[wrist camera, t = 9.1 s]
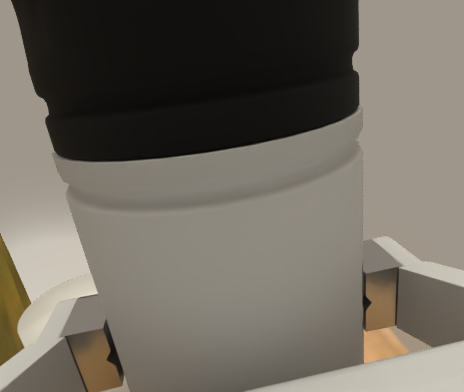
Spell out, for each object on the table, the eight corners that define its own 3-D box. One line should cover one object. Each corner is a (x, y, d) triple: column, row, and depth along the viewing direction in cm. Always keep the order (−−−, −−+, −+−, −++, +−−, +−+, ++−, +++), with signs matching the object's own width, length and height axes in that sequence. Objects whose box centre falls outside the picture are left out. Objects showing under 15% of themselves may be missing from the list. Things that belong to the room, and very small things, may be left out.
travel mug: (161, 551, 14) (-46, -15, 7) (278, 438, 17) (220, -13, 10) (265, 793, 9) (-82, -309, 2) (400, 569, 12) (441, -119, 5)
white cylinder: (58, 450, 19) (-3, 319, 16) (133, 379, 23) (97, 262, 19) (114, 512, 16) (53, 365, 13) (190, 419, 20) (158, 287, 16)
